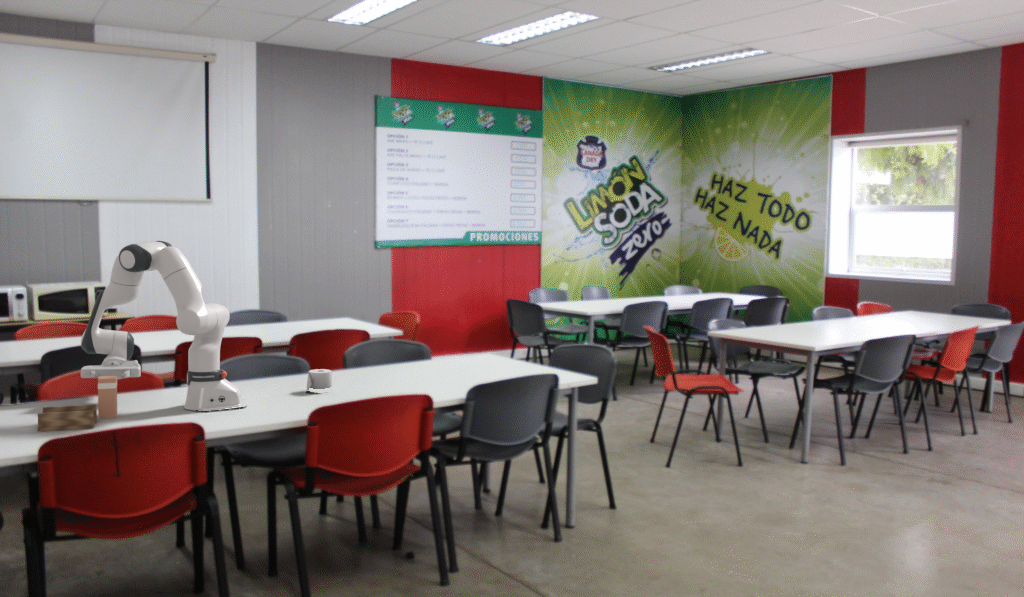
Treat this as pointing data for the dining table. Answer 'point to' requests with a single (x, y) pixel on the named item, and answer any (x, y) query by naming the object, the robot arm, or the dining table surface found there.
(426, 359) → the dining table surface
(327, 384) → the toilet tissue
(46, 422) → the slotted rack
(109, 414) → the carton
